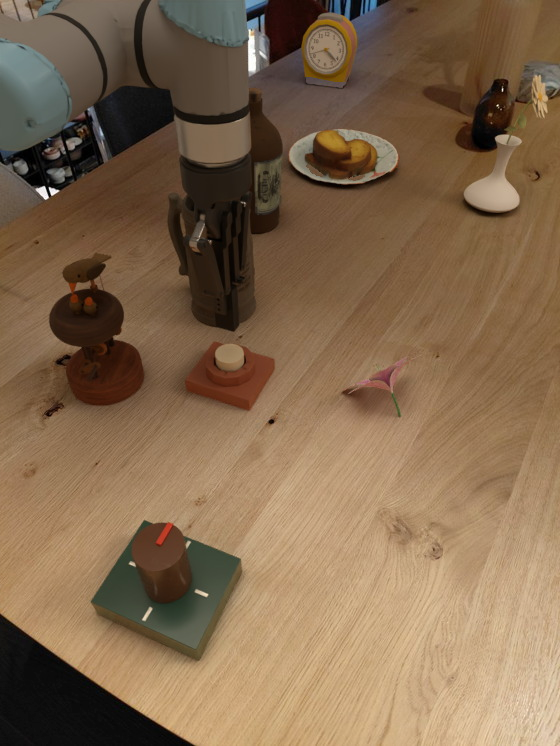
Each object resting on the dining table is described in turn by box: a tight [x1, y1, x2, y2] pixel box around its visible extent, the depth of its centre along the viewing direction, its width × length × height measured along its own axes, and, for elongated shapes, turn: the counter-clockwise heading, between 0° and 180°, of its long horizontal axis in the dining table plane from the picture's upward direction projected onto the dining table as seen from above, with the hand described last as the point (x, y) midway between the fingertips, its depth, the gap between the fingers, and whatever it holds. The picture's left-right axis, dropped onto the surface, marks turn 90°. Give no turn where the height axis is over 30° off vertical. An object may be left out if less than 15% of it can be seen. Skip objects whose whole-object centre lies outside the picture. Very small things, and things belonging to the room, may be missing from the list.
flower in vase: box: [463, 74, 549, 214], centre depth 112 cm, size 13×11×25 cm
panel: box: [90, 519, 243, 662], centre depth 60 cm, size 12×10×3 cm
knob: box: [131, 521, 192, 603], centre depth 56 cm, size 5×5×7 cm
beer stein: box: [166, 192, 257, 327], centre depth 89 cm, size 15×11×20 cm
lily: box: [341, 351, 422, 418], centre depth 78 cm, size 12×12×10 cm
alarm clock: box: [301, 12, 358, 82], centre depth 166 cm, size 15×8×18 cm, turn 72°
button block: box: [184, 340, 276, 412], centre depth 82 cm, size 10×9×4 cm
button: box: [215, 343, 244, 372], centre depth 80 cm, size 4×4×2 cm
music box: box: [48, 252, 145, 407], centre depth 76 cm, size 15×11×20 cm
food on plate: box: [287, 128, 400, 186], centre depth 131 cm, size 25×25×7 cm
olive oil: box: [249, 87, 284, 234], centre depth 106 cm, size 11×11×25 cm
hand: (227, 325), depth 76 cm, fingers closed
